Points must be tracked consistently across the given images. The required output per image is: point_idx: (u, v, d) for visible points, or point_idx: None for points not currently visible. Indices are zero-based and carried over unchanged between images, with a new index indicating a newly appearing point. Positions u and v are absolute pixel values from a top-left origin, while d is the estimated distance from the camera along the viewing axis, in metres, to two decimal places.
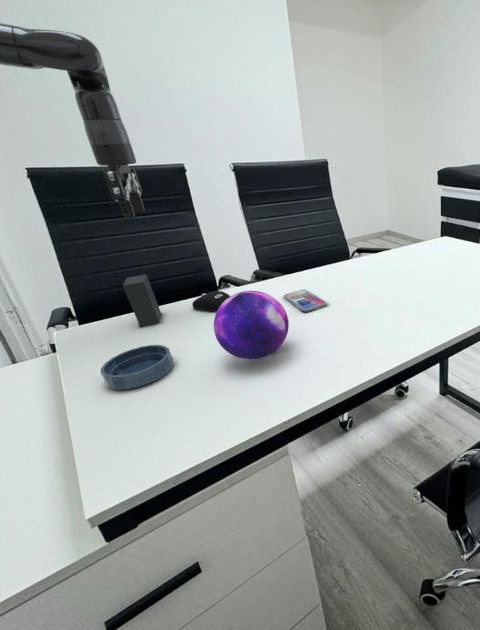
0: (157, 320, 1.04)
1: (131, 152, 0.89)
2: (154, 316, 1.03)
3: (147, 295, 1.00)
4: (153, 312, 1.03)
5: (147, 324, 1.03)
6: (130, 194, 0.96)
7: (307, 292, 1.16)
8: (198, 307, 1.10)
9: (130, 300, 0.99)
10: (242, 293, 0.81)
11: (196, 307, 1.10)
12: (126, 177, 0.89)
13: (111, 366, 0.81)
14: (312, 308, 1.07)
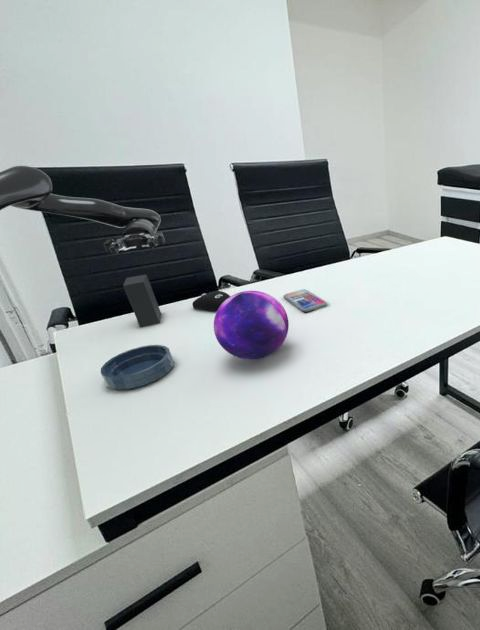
0: (157, 320, 1.04)
1: None
2: (154, 316, 1.03)
3: (147, 295, 1.00)
4: (153, 312, 1.03)
5: (147, 324, 1.03)
6: (116, 244, 1.08)
7: (307, 292, 1.16)
8: (198, 307, 1.10)
9: (130, 300, 0.99)
10: (242, 293, 0.81)
11: (196, 307, 1.10)
12: None
13: (111, 366, 0.81)
14: (312, 308, 1.07)
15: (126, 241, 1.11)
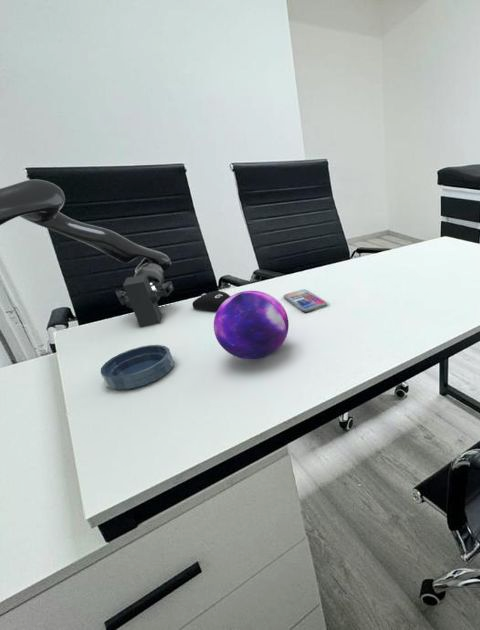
0: (157, 320, 1.04)
1: None
2: (154, 316, 1.03)
3: (147, 295, 1.00)
4: (153, 312, 1.03)
5: (147, 324, 1.03)
6: None
7: (307, 292, 1.16)
8: (198, 307, 1.10)
9: (130, 300, 0.99)
10: (242, 293, 0.81)
11: (196, 307, 1.10)
12: None
13: (111, 366, 0.81)
14: (312, 308, 1.07)
15: None
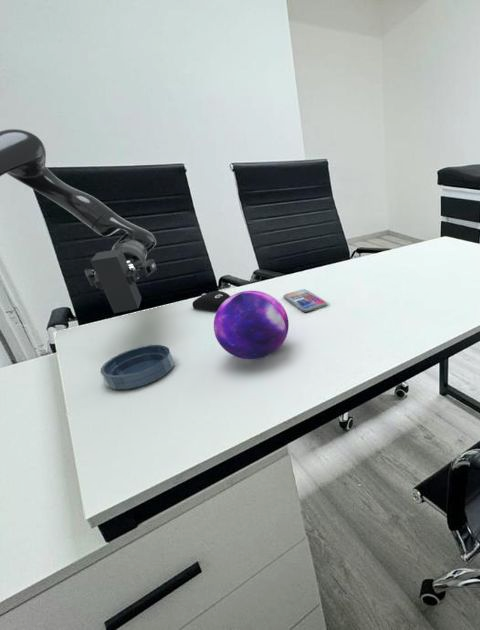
0: (135, 305, 0.85)
1: None
2: (132, 300, 0.84)
3: (122, 273, 0.81)
4: (130, 295, 0.84)
5: (123, 309, 0.84)
6: None
7: (307, 292, 1.16)
8: (198, 307, 1.10)
9: (100, 279, 0.80)
10: (242, 293, 0.81)
11: (196, 307, 1.10)
12: None
13: (111, 366, 0.81)
14: (312, 308, 1.07)
15: None
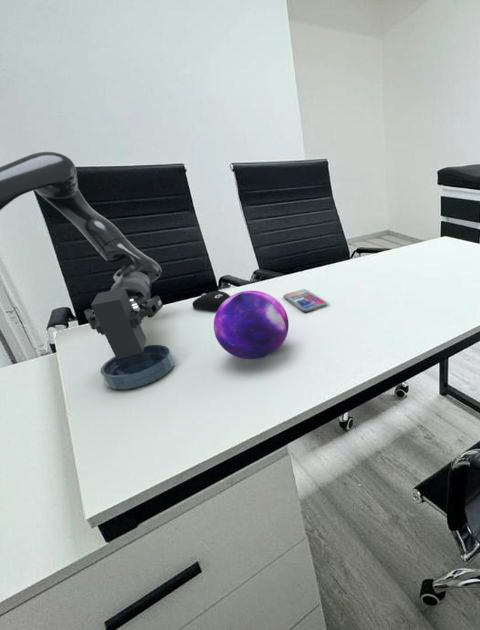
0: (140, 349, 0.78)
1: None
2: (136, 345, 0.77)
3: (125, 317, 0.74)
4: (134, 339, 0.77)
5: (126, 355, 0.77)
6: None
7: (307, 292, 1.16)
8: (198, 307, 1.10)
9: (102, 324, 0.73)
10: (242, 293, 0.81)
11: (196, 307, 1.10)
12: None
13: (111, 366, 0.81)
14: (312, 308, 1.07)
15: None
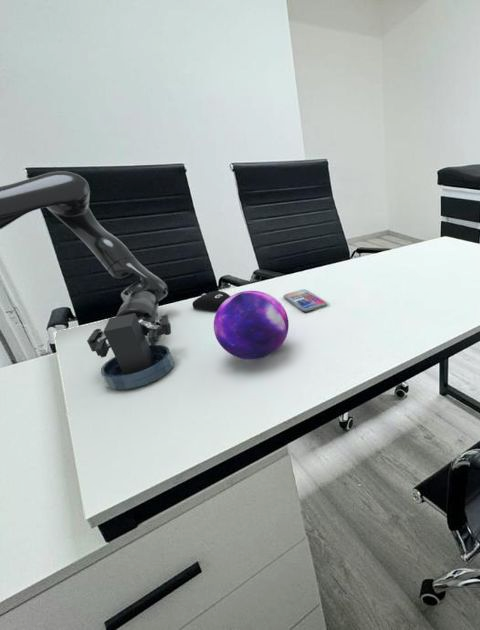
0: None
1: None
2: None
3: (136, 342, 0.77)
4: (144, 363, 0.79)
5: None
6: (105, 340, 0.79)
7: (307, 292, 1.16)
8: (198, 307, 1.10)
9: (113, 349, 0.76)
10: (242, 293, 0.81)
11: (196, 307, 1.10)
12: None
13: (111, 366, 0.81)
14: (312, 308, 1.07)
15: None
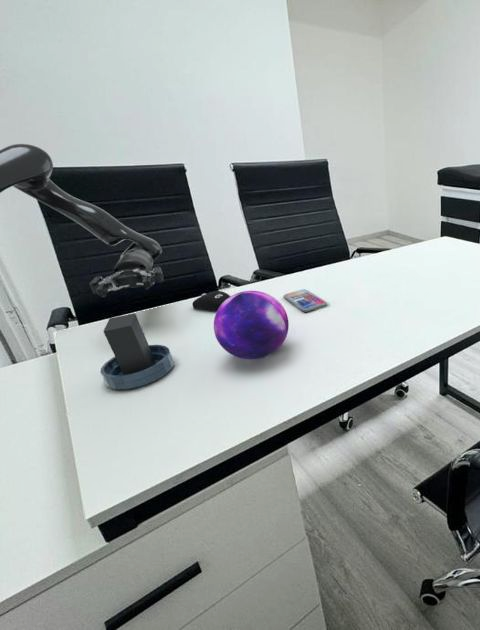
0: None
1: None
2: None
3: (136, 342, 0.77)
4: (144, 363, 0.79)
5: None
6: (105, 283, 0.91)
7: (307, 292, 1.16)
8: (198, 307, 1.10)
9: (113, 349, 0.76)
10: (242, 293, 0.81)
11: (196, 307, 1.10)
12: None
13: (111, 366, 0.81)
14: (312, 308, 1.07)
15: (117, 279, 0.93)
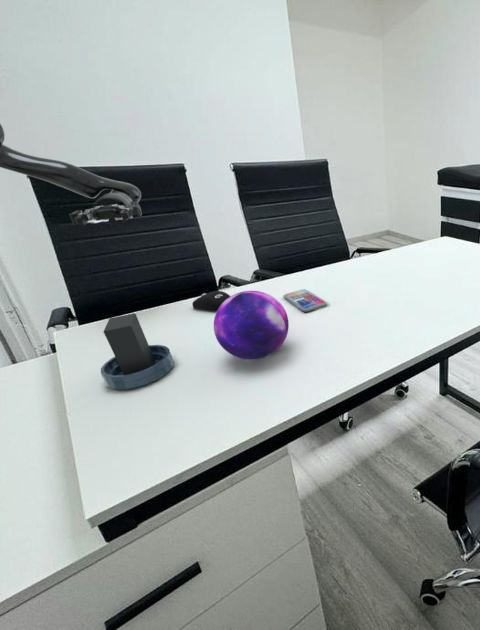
0: None
1: None
2: None
3: (136, 342, 0.77)
4: (144, 363, 0.79)
5: None
6: (84, 215, 0.95)
7: (307, 292, 1.16)
8: (198, 307, 1.10)
9: (113, 349, 0.76)
10: (242, 293, 0.81)
11: (196, 307, 1.10)
12: None
13: (111, 366, 0.81)
14: (312, 308, 1.07)
15: (96, 212, 0.97)
